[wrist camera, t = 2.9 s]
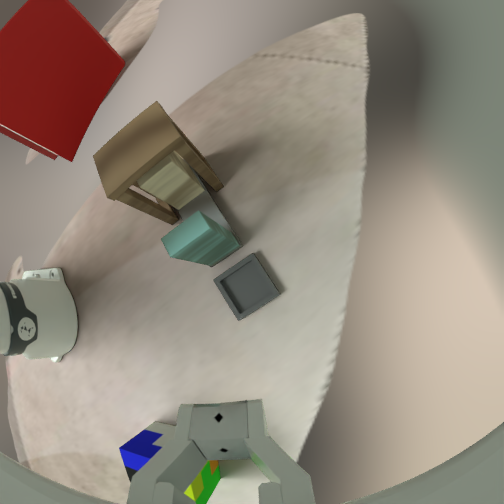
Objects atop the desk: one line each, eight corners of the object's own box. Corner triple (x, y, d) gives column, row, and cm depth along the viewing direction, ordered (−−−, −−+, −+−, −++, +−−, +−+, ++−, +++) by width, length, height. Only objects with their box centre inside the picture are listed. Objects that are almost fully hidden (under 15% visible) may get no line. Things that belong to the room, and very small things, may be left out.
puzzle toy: (155, 421, 34) (119, 447, 25) (214, 431, 32) (187, 468, 23) (165, 466, 33) (135, 496, 23) (220, 478, 31) (198, 515, 21)
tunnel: (225, 187, 36) (180, 136, 22) (172, 226, 37) (107, 197, 23) (203, 155, 37) (156, 100, 24) (154, 193, 38) (93, 156, 25)
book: (72, 162, 44) (-45, 100, 13) (54, 160, 46) (-49, 106, 15) (128, 60, 46) (52, -22, 15) (106, 65, 48) (34, -6, 16)
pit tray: (280, 294, 33) (279, 294, 32) (240, 319, 34) (238, 320, 33) (254, 254, 34) (252, 253, 33) (215, 280, 35) (213, 279, 34)
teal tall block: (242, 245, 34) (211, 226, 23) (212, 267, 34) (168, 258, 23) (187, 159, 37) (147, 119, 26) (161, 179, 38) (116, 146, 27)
